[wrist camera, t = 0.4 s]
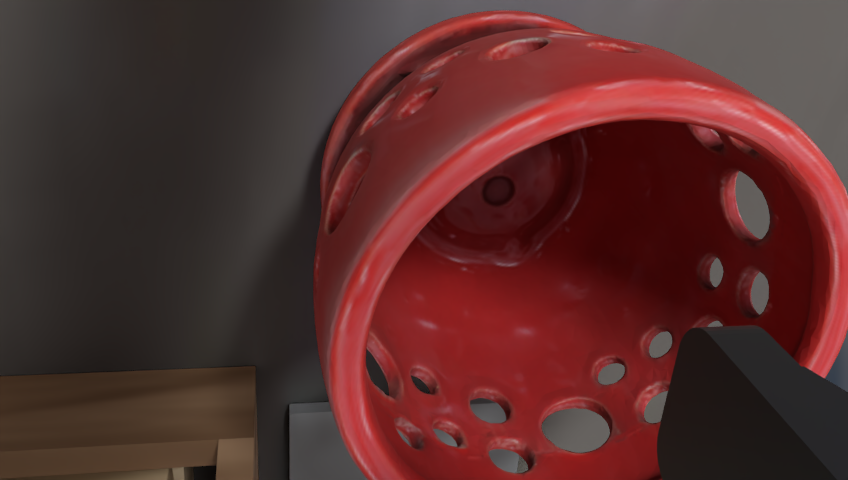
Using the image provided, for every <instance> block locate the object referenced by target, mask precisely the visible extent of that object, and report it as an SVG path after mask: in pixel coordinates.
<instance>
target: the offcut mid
mask: <svg viewBox="0 0 848 480" xmlns="http://www.w3.org/2000/svg"><path fill="white" fill-rule="evenodd" d="M0 480H174V477H173V470H172V468H164V469H148V470H131V471H115V472H99V473H83V474H67V475H51V476H34V477H18V478H2V479H0Z"/></svg>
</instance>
